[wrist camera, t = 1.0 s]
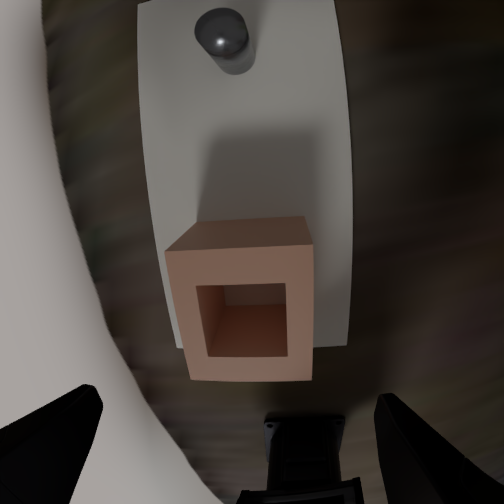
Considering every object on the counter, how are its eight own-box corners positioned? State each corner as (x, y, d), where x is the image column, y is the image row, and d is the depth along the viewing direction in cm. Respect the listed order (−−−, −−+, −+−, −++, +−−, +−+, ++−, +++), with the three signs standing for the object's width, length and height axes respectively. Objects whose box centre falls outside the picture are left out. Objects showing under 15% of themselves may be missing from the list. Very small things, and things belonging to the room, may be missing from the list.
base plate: (344, 336, 20) (346, 345, 19) (181, 339, 21) (177, 347, 20) (327, -13, 13) (329, -21, 12) (144, 10, 14) (137, 4, 13)
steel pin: (256, 73, 14) (247, 46, 10) (218, 77, 14) (195, 53, 10) (253, 39, 13) (243, 4, 9) (215, 43, 14) (193, 12, 9)
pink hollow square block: (306, 325, 18) (311, 380, 14) (211, 327, 19) (191, 379, 14) (304, 215, 16) (313, 244, 12) (196, 222, 17) (164, 251, 12)
